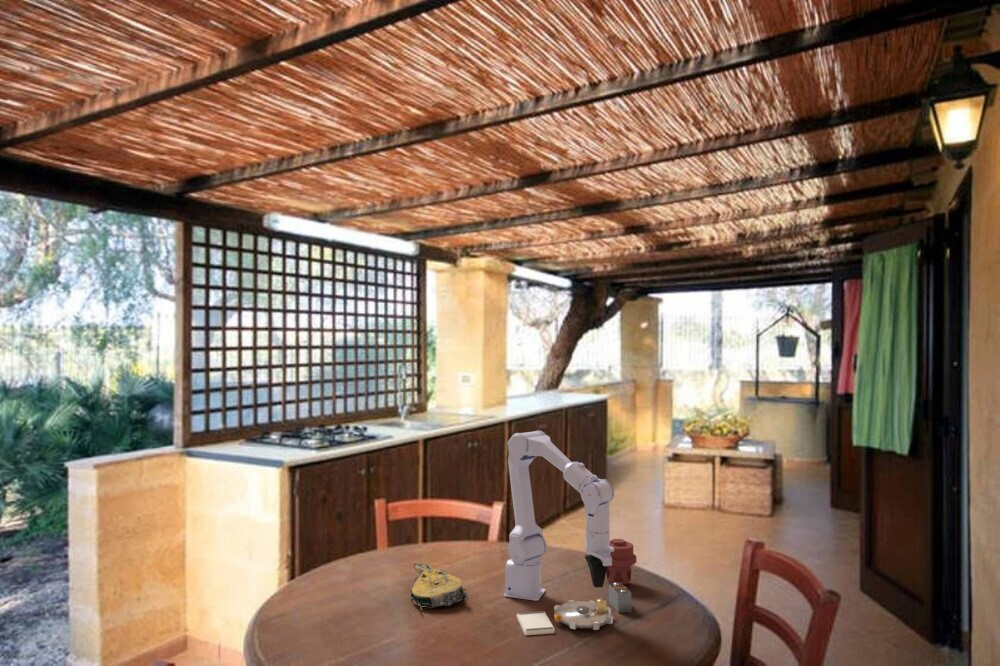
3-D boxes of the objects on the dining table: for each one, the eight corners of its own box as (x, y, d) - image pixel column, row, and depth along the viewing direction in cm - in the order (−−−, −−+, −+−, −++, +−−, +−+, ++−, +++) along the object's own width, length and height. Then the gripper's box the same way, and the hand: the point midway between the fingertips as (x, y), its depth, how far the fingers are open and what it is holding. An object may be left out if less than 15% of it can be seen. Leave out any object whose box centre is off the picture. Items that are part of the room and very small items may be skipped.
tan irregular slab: (446, 550, 190) (470, 585, 161) (449, 569, 190) (473, 607, 161) (399, 561, 186) (415, 600, 157) (402, 581, 186) (419, 622, 157)
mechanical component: (636, 579, 182) (636, 592, 173) (601, 577, 184) (600, 589, 175) (636, 536, 183) (636, 546, 173) (601, 534, 185) (599, 544, 175)
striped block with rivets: (608, 602, 166) (608, 582, 166) (621, 601, 166) (621, 581, 166) (618, 613, 159) (618, 592, 159) (631, 612, 159) (631, 591, 159)
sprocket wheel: (544, 609, 158) (543, 591, 158) (596, 602, 163) (596, 584, 163) (567, 634, 144) (567, 614, 145) (624, 625, 149) (624, 606, 149)
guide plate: (516, 617, 156) (516, 612, 156) (544, 615, 157) (544, 610, 157) (525, 635, 146) (525, 630, 146) (554, 633, 147) (554, 628, 147)
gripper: (623, 538, 149) (624, 596, 148) (603, 522, 163) (603, 575, 162) (595, 539, 147) (595, 598, 147) (577, 523, 162) (577, 576, 161)
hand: (598, 586), depth 155 cm, fingers closed
